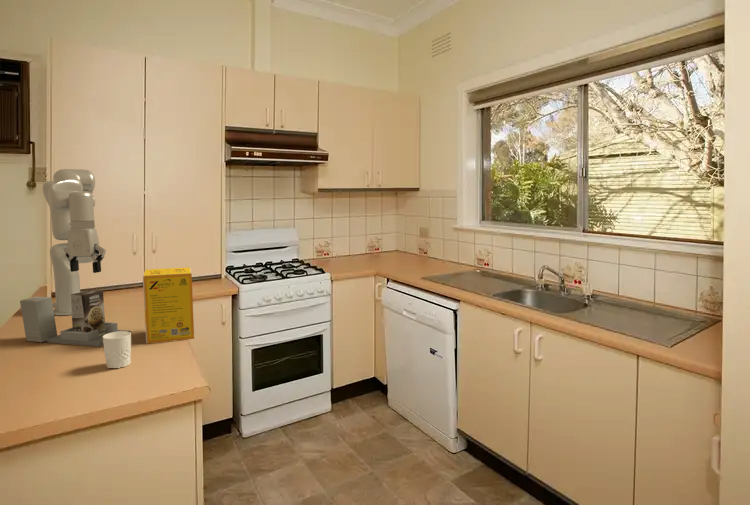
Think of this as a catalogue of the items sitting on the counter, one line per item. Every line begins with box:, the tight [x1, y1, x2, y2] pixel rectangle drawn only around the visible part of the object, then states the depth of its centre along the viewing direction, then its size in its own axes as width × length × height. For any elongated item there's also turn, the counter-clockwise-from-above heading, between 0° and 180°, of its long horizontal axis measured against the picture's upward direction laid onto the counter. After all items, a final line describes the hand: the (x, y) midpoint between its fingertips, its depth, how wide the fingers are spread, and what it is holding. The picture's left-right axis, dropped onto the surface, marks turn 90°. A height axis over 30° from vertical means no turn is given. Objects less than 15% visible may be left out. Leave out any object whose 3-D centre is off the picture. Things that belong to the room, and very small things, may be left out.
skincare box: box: [19, 296, 58, 343], centre depth 172 cm, size 8×7×16 cm
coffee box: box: [71, 289, 106, 334], centre depth 175 cm, size 9×6×16 cm
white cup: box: [102, 330, 132, 369], centre depth 148 cm, size 8×8×10 cm
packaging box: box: [142, 266, 195, 344], centre depth 179 cm, size 16×16×25 cm
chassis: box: [46, 321, 132, 347], centre depth 176 cm, size 22×16×4 cm
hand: (85, 271), depth 173 cm, fingers open, 9 cm apart
